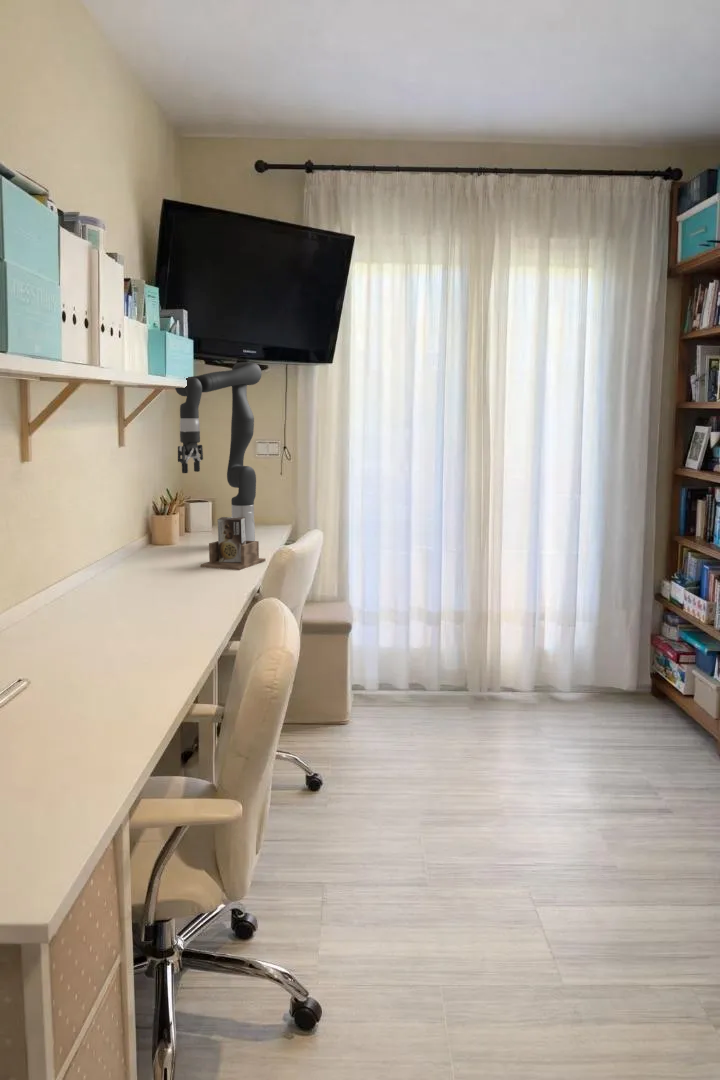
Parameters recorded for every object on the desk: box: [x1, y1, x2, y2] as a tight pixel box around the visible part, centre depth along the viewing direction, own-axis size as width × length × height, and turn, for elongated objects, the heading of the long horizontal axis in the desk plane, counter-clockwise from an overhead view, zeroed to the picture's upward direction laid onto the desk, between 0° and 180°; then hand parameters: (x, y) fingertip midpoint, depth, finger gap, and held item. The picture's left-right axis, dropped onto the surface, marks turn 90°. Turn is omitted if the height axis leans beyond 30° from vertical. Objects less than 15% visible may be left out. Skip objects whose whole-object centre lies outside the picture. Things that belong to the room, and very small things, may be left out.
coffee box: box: [217, 516, 246, 562], centre depth 330 cm, size 9×6×16 cm
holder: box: [199, 540, 266, 571], centre depth 330 cm, size 20×16×8 cm
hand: (191, 472), depth 348 cm, fingers open, 8 cm apart
